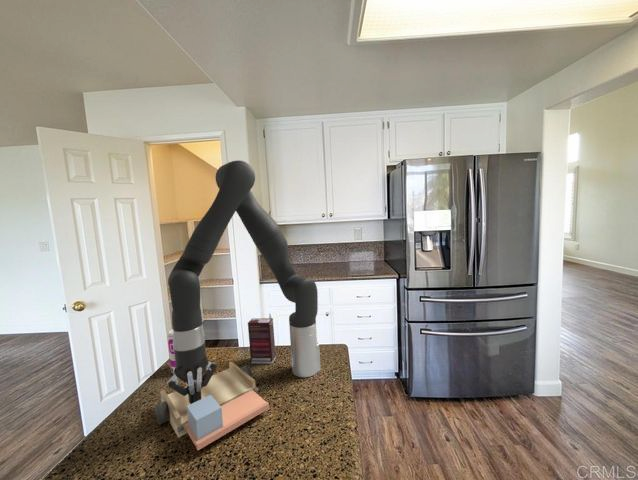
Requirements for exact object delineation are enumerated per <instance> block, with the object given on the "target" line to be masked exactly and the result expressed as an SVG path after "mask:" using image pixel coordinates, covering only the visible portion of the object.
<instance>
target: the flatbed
mask: <svg viewBox="0 0 638 480" xmlns="http://www.w3.org/2000/svg"><path fill="white" fill-rule="evenodd" d="M183 387H184V386H183ZM184 388H186V386H185V387H184ZM251 390H253V391H254V392H255V393H257V392H258V391H259V388H258V387H257V386H256V379H254V378H253V374H252V371H251V368H250V367H249V366H248V365H244V366H242V367H239V366H238V365H237V364H236V363H235V362H233V361H230V362H228V368H227V369H224V370H222V371H219V372H217V373H215V374H213V375H212V377H211V379H210V381H209V382H208V384H207V386H205V387H203V388H202V389H201V398H202V399H203V398H205V397H207V396H209V395H211V396H212V397H213V398H214V399H215V400H216V401H217V403H218V404H219V405H220V406H222V405H224V404H226V403H228V402H230V401H232V400H234V399H236V398H238V397H240V396H242V395H243V394H245V393H247V392H249V391H251ZM159 392H160V400H161V402H160V403H158V404H156V405H154V413H155V417H156V422H157V425H158V426H161V425H163V424H165V423H167V422H169V423H170V425H171V427H172V429H173V431H174V432H175V434H176V436H177V438H180V437H182V436H184V435H186V434H188V433H187V431H186V429H185V424H187V423H188V415H187V406H188V405H190V403H189V397H188V394H187V395H186V396H183V395H181V394H180V393H178V392H176V391H175V390H174V391H172V392H171V393H168V394H167V392H166V390H165V389H162V390H160V391H159Z"/></svg>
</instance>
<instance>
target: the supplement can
mask: <svg viewBox="0 0 638 480" xmlns="http://www.w3.org/2000/svg"><path fill="white" fill-rule="evenodd" d="M167 345H168V356H169V365H170V366H169V367H170V373H172V374H173V375H174V370H175V367H176V364H175V354H174V344H173V328H172V329H171V330H169V331H168V335H167Z"/></svg>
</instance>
